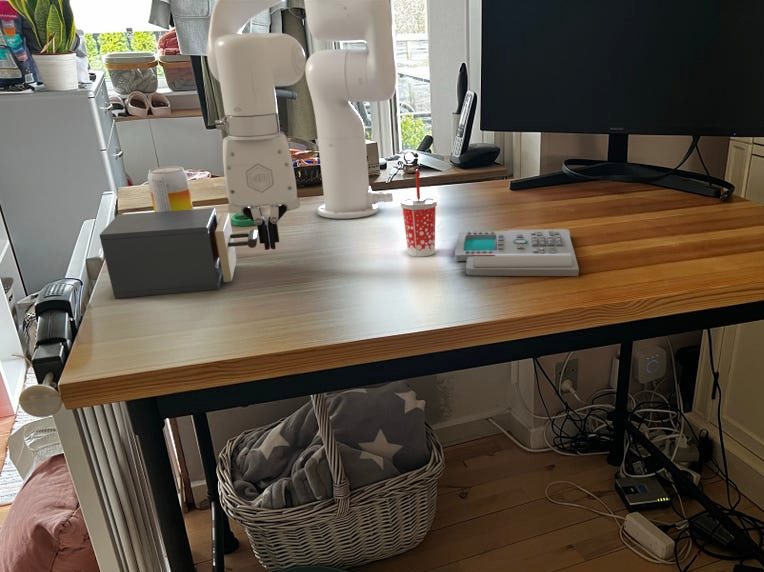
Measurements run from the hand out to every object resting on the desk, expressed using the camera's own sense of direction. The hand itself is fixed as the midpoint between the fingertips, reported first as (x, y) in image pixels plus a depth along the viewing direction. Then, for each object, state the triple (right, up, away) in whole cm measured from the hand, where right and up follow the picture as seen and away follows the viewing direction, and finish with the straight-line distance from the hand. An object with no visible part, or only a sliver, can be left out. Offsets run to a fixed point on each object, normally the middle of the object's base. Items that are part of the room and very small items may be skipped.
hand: (270, 247), depth 115 cm
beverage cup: (+23, 0, +10) cm, 25 cm away
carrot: (-14, +12, +36) cm, 41 cm away
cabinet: (-15, -5, -1) cm, 16 cm away
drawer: (-10, -4, -1) cm, 11 cm away
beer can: (-18, 0, +10) cm, 21 cm away
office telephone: (+39, 0, +8) cm, 40 cm away
